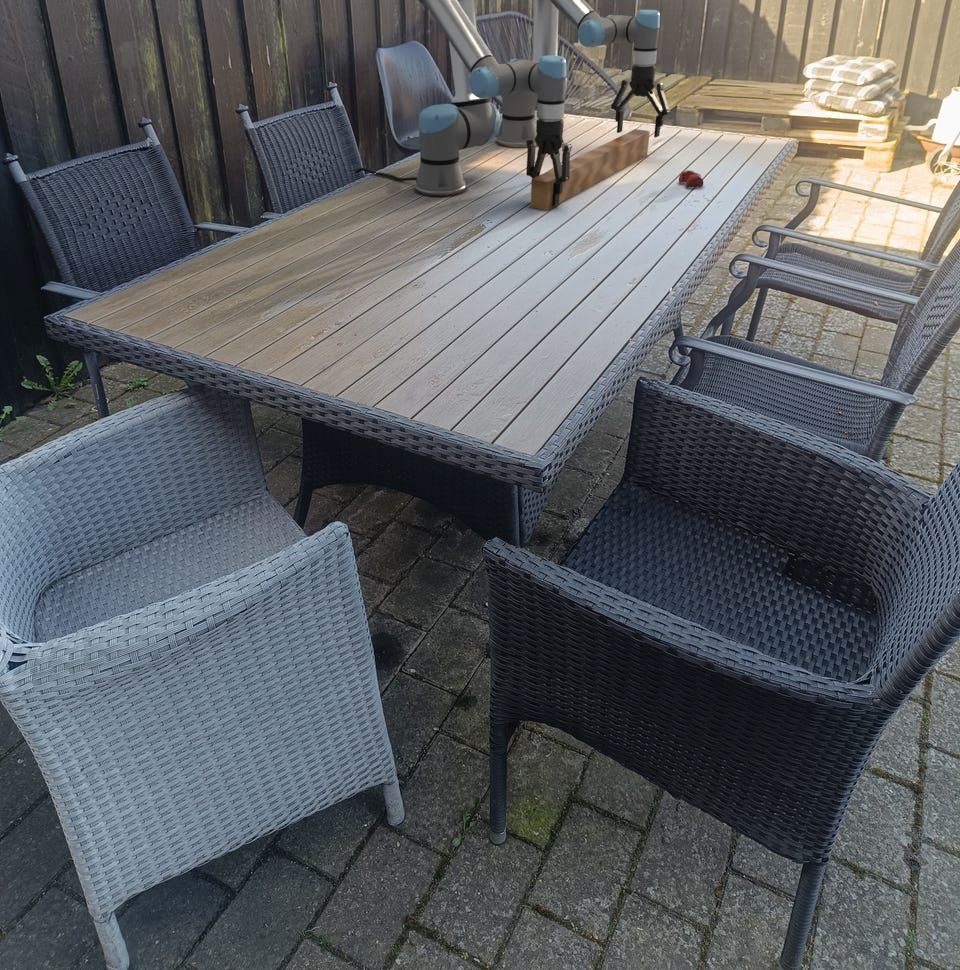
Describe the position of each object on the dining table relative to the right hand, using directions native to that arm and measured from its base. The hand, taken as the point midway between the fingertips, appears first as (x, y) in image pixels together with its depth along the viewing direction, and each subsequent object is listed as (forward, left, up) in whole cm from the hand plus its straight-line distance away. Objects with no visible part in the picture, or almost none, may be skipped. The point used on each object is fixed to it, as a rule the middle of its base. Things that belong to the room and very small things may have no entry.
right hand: (637, 134), depth 284 cm
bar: (-4, -31, -8) cm, 32 cm away
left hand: (-7, -62, -7) cm, 62 cm away
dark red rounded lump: (+26, -24, -8) cm, 36 cm away
